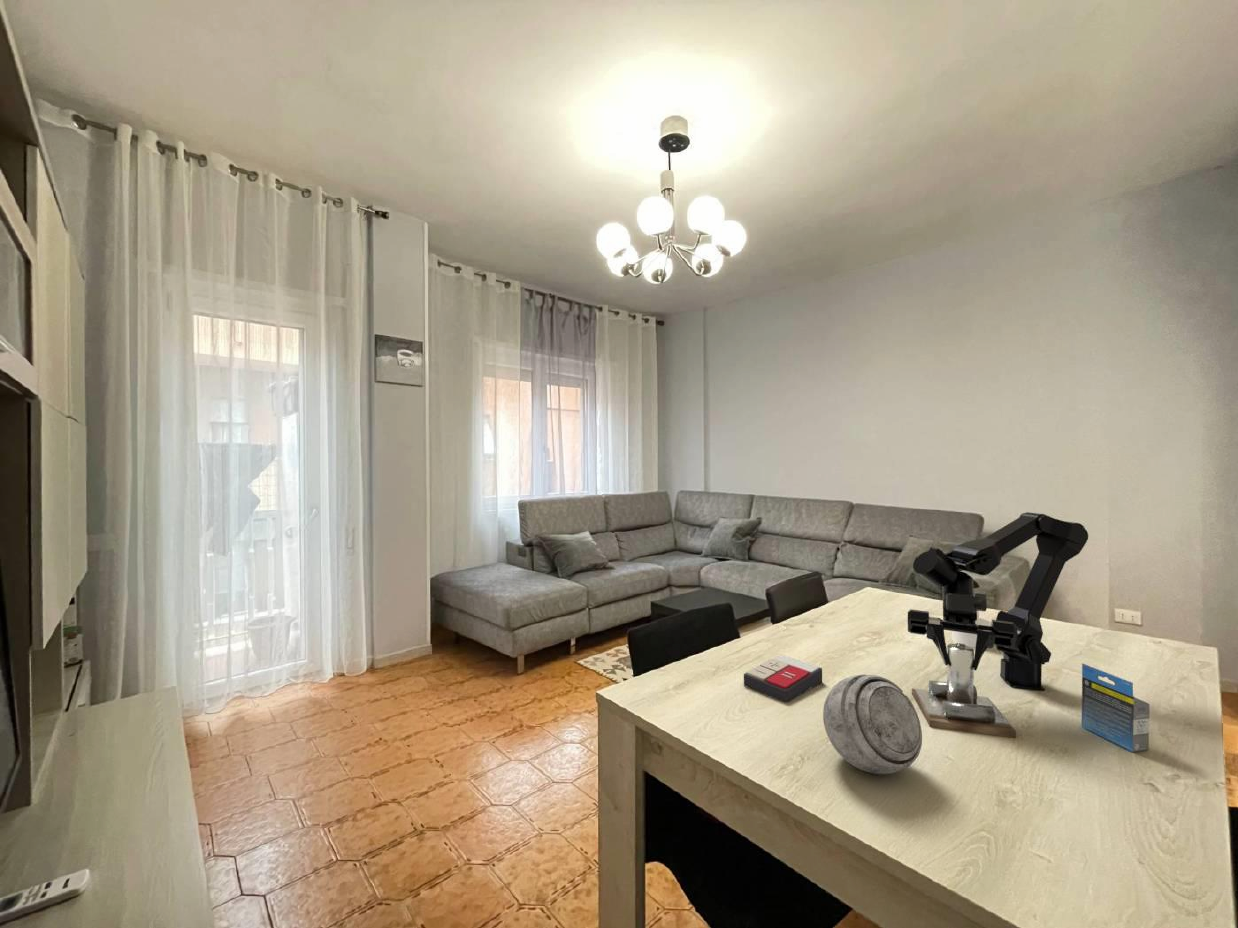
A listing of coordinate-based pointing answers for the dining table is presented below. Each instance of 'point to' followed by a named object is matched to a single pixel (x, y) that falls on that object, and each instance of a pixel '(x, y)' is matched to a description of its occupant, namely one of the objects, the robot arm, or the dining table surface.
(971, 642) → the cylinder with rectangular tab
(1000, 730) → the board
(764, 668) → the calculator
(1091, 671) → the ink cartridge box
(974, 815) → the dining table surface
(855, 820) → the dining table surface
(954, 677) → the hinge barrel
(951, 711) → the hinge leaves
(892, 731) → the decorative orb
